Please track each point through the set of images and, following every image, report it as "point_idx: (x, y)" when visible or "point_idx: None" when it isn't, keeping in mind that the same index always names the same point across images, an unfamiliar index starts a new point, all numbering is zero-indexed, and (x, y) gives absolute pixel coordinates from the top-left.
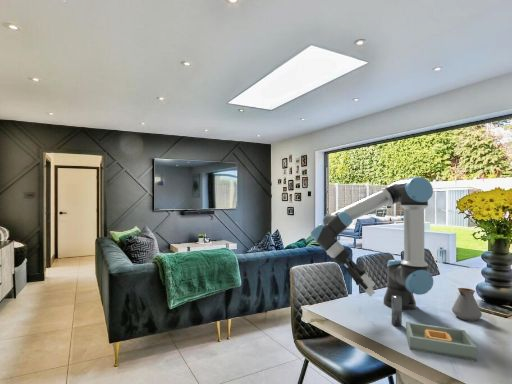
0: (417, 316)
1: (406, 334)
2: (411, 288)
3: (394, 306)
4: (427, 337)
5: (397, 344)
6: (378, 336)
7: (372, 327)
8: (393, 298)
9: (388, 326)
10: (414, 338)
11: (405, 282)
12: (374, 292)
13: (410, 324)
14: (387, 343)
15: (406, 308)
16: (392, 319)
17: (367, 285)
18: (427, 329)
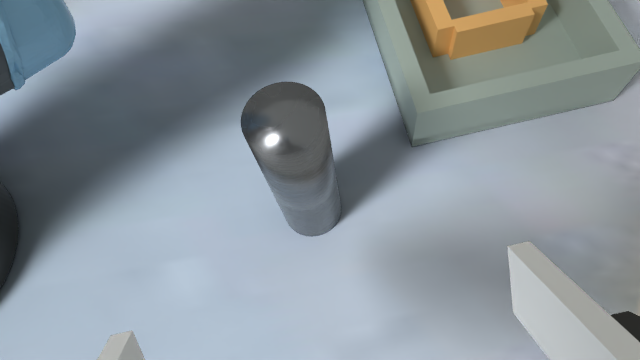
0: (106, 140)
1: (438, 139)
2: (70, 27)
3: (331, 162)
4: (531, 17)
5: (600, 155)
6: (578, 259)
7: (460, 325)
8: (319, 141)
9: (371, 242)
10: (632, 46)
11: (4, 42)
12: (532, 247)
13: (428, 93)
14: (633, 197)
15: (7, 201)
16: (329, 216)
17: (608, 323)
18: (437, 23)
